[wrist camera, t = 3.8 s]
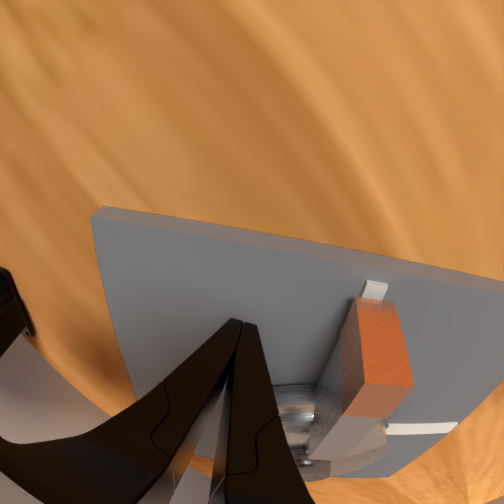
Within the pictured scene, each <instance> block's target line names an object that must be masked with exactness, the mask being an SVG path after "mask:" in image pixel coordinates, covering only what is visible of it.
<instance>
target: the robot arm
mask: <svg viewBox="0 0 504 504" xmlns="http://www.w3.org/2000/svg"><path fill="white" fill-rule="evenodd" d="M20 333H21V334H23V335H25V336H27V337H29V338H32V337H33V336H34V332H33V329H32V327H31V325H30V323H29V321H28V319H27V317H26V314H25V312H24V310H23V308H22V305H21V303H20V301H19V298H18V296H17V293H16V291H15V288H14V286H13V283H12V280H11V278H10V275H9V273H8V272H7V271H6V270H5V269H3V268H1V267H0V358H1V356H2V355H3V354H4V353H5V351H6V350H7V349H8V348H9V346H10V345H11V344H12V343H13V341H14V340H15V339H16V338H17V337H18V335H19V334H20ZM229 371H230V372H229ZM227 378H228V379H227ZM226 381H227V383H226ZM225 384H226V387H225V393H224V400H223V406H222V413H221V419H220V426H219V433H218V439H217V446H216V453H215V459H214V466H213V473H212V480H211V486H210V493H209V501H208V504H315V502H314V501H313V499H312V497H311V496H310V494H309V492H308V490H307V487H306V485H305V483H304V481H303V478H302V476H301V474H300V471H299V469H298V467H297V464H296V462H295V460H294V457H293V455H292V452H291V450H290V447H289V444H288V442H287V439H286V435H285V432H284V429H283V425H282V421H281V417H280V416H279V410H278V406H277V402H276V398H275V394H274V390H273V386H272V382H271V378H270V374H269V370H268V366H267V362H266V358H265V354H264V350H263V346H262V342H261V338H260V334H259V330H258V326H257V325H256V324H253V323H250V322H244V323H243V321H242V320H239V319H235V318H230V319H229V320H228V321H227V322H226V323H224V324H223V325H222V326H221V327H220V328H219V329H218V330H217V331H216V332H215V333H214V334H213V335H212V336H210V337H209V338H208V339H207V340H206V341H205V342H204V343H203V344H202V345H201V346H200V347H198V348H197V349H196V350H195V351H194V352H193V353H192V354H191V355H190V356H189V357H188V358H186V359H185V360H184V361H183V362H182V363H181V364H180V365H179V366H178V367H176V368H175V369H174V370H173V371H172V372H171V373H170V374H169V375H168V376H166V377H165V378H164V379H163V380H162V381H161V382H160V383H158V384H157V385H156V386H155V387H154V388H153V389H152V390H150V391H149V392H148V393H147V394H145V395H144V396H143V397H142V398H140V399H139V400H138V401H136V402H135V403H133V404H132V405H130V406H129V407H128V408H126V409H125V410H123V411H121V412H120V413H118V414H117V415H115V416H113V417H112V418H110V419H109V420H107V421H106V422H104V423H103V424H101V425H99V426H97V427H96V428H94V429H92V430H91V431H88V432H86V433H84V434H81V435H78V436H73V437H68V438H63V439H57V440H51V441H44V442H37V443H29V444H16V443H11V442H9V441H6V440H5V439H3V438H2V437H0V504H169V502H170V500H171V498H172V496H173V494H174V491H175V490H176V488H177V486H178V484H179V482H180V480H181V478H182V476H183V474H184V472H185V470H186V467H187V465H188V463H189V461H190V459H191V457H192V455H193V453H194V451H195V449H196V447H197V445H198V443H199V440H200V438H201V436H202V434H203V432H204V430H205V428H206V426H207V424H208V421H209V419H210V417H211V415H212V413H213V411H214V409H215V406H216V404H217V402H218V400H219V398H220V396H221V393H222V391H223V389H224V386H225Z"/></svg>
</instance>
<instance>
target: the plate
mask: <svg viewBox="0 0 504 504" xmlns="http://www.w3.org/2000/svg"><path fill="white" fill-rule="evenodd" d="M90 218H91V224H92V231H93V237H94V243H95V249H96V254H97V259H98V264H99V269H100V274H101V279H102V283H103V288H104V292H105V296H106V300H107V304H108V308H109V312H110V316H111V320H112V323H113V327H114V331H115V334H116V338H117V341H118V344H119V348H120V351H121V354H122V357H123V360H124V363H125V366H126V369H127V372H128V375H129V378H130V381H131V384H132V387H133V389H134V392H135V395H136V398H137V400H139V399H140V398H142V397H143V396H144V395H145V394H147V393H148V392H149V391H150V390H152V389H153V388H154V387H155V386H156V385H157V384H158V383H160V382H161V381H162V380H163V379H164V378H165V377H166V376H168V375H169V374H170V373H171V372H172V371H173V370H174V369H175V368H176V367H178V366H179V365H180V364H181V363H182V362H183V361H184V360H185V359H186V358H188V357H189V356H190V355H191V354H192V353H193V352H194V351H195V350H196V349H197V348H198V347H200V346H201V345H202V344H203V343H204V342H205V341H206V340H207V339H208V338H209V337H210V336H212V335H213V334H214V333H215V332H216V331H217V330H218V329H219V328H220V327H221V326H222V325H223V324H224V323H226V322H227V321H228V320H229V319H230V318H235V319H239V320H242V321H243V323H244V322H250V323H253V324H256V325H257V326H258V330H259V334H260V338H261V342H262V346H263V350H264V354H265V358H266V362H267V366H268V370H269V374H270V378H271V382H272V386H273V387H278V386H287V385H318V383H319V381H320V379H321V377H322V375H323V373H324V370H325V368H326V366H327V364H328V362H329V360H330V358H331V355H332V353H333V351H334V349H335V347H336V344H337V342H338V340H339V338H340V332H341V330H342V327H343V325H344V323H345V320H346V318H347V315H348V313H349V311H350V308H351V306H352V303H353V300H354V298H355V296H359V297H365V298H371V299H377V300H383V301H389V302H394V303H395V306H396V310H397V314H398V317H399V321H400V325H401V329H402V333H403V337H404V341H405V345H406V350H407V354H408V359H409V363H410V368H411V373H412V378H413V383H414V387H413V389H412V390H411V391H410V392H409V394H408V395H407V396H406V397H405V398H404V399H403V401H402V402H401V403H400V404H399V405H398V406H397V408H396V409H395V410H394V411H393V412H392V413H391V414H390V415H389V416H388V418H385V425H386V441H387V449H386V452H385V453H384V455H383V456H382V457H381V458H380V459H379V460H377V461H376V462H375V463H373V464H371V465H369V466H367V467H365V468H362V469H360V470H357V471H353V472H350V473H346V474H341V475H335V476H329V477H343V478H381V477H390V476H391V475H393V474H394V473H396V472H397V471H399V470H400V469H402V468H403V467H405V466H406V465H408V464H409V463H411V462H412V461H413V460H415V459H416V458H417V457H419V456H420V455H422V454H423V453H424V452H426V451H427V450H428V449H429V448H431V447H432V446H433V445H435V444H436V443H437V442H438V441H440V440H441V439H442V438H443V437H444V436H446V435H447V434H448V433H449V432H450V431H452V430H453V429H454V428H455V427H456V426H457V425H458V424H460V423H461V422H462V421H463V420H464V419H465V418H466V417H467V416H468V415H469V414H470V413H471V412H473V411H474V410H475V409H476V408H477V407H478V406H479V405H480V404H481V403H482V402H483V401H484V400H485V399H486V398H487V397H488V396H489V395H490V393H491V392H492V391H493V390H494V389H495V388H496V387H497V386H498V385H499V384H500V383H501V382H502V380H503V379H504V282H502V281H497V280H493V279H488V278H484V277H480V276H475V275H471V274H466V273H462V272H457V271H453V270H448V269H443V268H439V267H434V266H429V265H425V264H420V263H415V262H410V261H406V260H401V259H396V258H391V257H386V256H381V255H376V254H371V253H366V252H361V251H356V250H351V249H346V248H341V247H336V246H331V245H326V244H320V243H315V242H310V241H305V240H299V239H294V238H289V237H283V236H278V235H272V234H267V233H261V232H256V231H250V230H245V229H239V228H234V227H228V226H222V225H216V224H211V223H205V222H199V221H193V220H187V219H181V218H175V217H169V216H163V215H157V214H151V213H145V212H138V211H132V210H126V209H119V208H113V207H106V206H103V207H102V208H101V209H99V210H98V211H97V212H95V213H94V214H93V215H91V216H90ZM229 372H230V371H229ZM227 379H228V378H227ZM226 383H227V381H226ZM225 387H226V384H225V386H224V389H223V391H222V393H221V396H220V398H219V400H218V402H217V404H216V406H215V409H214V411H213V413H212V415H211V417H210V419H209V421H208V424H207V426H206V428H205V430H204V432H203V434H202V436H201V438H200V440H199V443H198V445H197V447H196V449H195V451H194V453H193V455H197V456H201V457H205V458H209V459H213V460H214V459H215V453H216V446H217V439H218V433H219V426H220V419H221V413H222V406H223V400H224V393H225Z"/></svg>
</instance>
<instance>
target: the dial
mask: <svg viewBox="0 0 504 504" xmlns="http://www.w3.org/2000/svg"><path fill="white" fill-rule="evenodd" d="M413 387H414V383H413V378H412V373H411V368H410V363H409V359H408V354H407V350H406V345H405V341H404V337H403V333H402V329H401V325H400V321H399V317H398V314H397V310H396V306H395V303H394V302H389V301H383V300H377V299H371V298H365V297H359V296H355V298H354V300H353V303H352V306H351V308H350V311H349V313H348V315H347V318H346V320H345V323H344V325H343V327H342V330H341V332H340V338H339V340H338V342H337V344H336V347H335V349H334V351H333V353H332V355H331V358H330V360H329V362H328V364H327V366H326V368H325V370H324V373H323V375H322V377H321V379H320V381H319V383H318V385H287V386H278V387H273V390H274V394H275V398H276V402H277V406H278V410H279V416H280V417H281V421H282V425H283V429H284V432H285V435H286V439H287V442H288V444H289V447H290V450H291V452H292V455H293V457H294V460H295V462H296V464H297V467H298V469H299V471H300V474H301V476H302V478H303V481H304V482H308V481H318V480H323V479H326V478H328V477H329V476H335V475H341V474H346V473H350V472H353V471H357V470H360V469H362V468H365V467H367V466H369V465H371V464H373V463H375V462H376V461H377V460H379V459H380V458H381V457H382V456H383V455H384V453H385V452H386V449H387V441H386V425H385V418H388V416H389V415H390V414H391V413H392V412H393V411H394V410H395V409H396V408H397V406H398V405H399V404H400V403H401V402H402V401H403V399H404V398H405V397H406V396H407V395H408V394H409V392H410V391H411V390H412V389H413Z"/></svg>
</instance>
